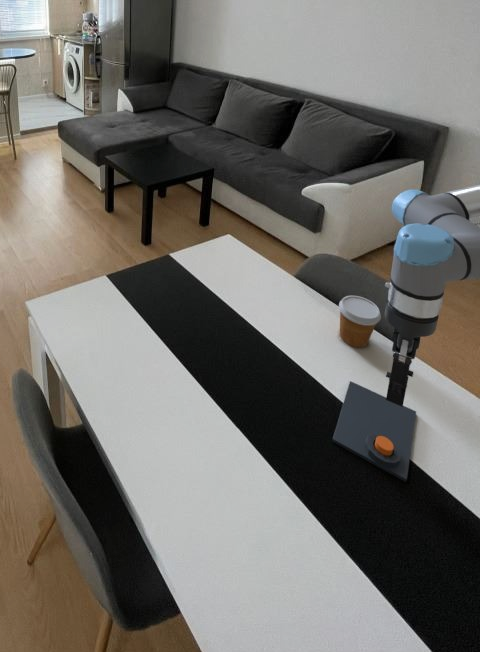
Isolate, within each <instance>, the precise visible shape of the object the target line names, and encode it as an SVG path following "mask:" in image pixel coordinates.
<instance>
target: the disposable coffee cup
mask: <svg viewBox="0 0 480 652" xmlns="http://www.w3.org/2000/svg"><path fill="white" fill-rule="evenodd" d="M338 308H339V311H340V312H339V337H340V339H341V340H342V341H343V342H344V343H345V344H347V345H349V346H351V347H354V348H364V347H366V346H367V345H368V343H369V340H370V338H371V337H372V335H373V332H374V330H375V328H376V326H377V324H378V323H379V322H380V321H381V319H382V314H381V312H380V309H379V307H378V305H377V304H376V303H374V302H373V301H372V300H370V299H368V298H366V297H363V296H359V295H346V296H344V297H343V298H341V300H340V301H339V303H338Z"/></svg>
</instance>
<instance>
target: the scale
mask: <svg viewBox="0 0 480 652" xmlns="http://www.w3.org/2000/svg"><path fill="white" fill-rule="evenodd" d="M345 393H346V394H345V396H344V399H343V403H342V406H341V410H340V413H339V417H338V420H337V423H336V426H335V430H334V433H333V437H332V440H331V441H332V443H334V444H336V445H338V446H340V447H342V448H343V449H345V450H347V451H349V452H350V453H352V454H353V455H356V456H357V457H359V458H361V459H363V460H365V461H366V462H368V463H370V464H372V465H374V466H376V467H377V468H379V469H381V470H383V471H384V472H386V473H389V474H390V475H392V476H394V477H396V478H398V479H399V480H400V481H403V482H405V483H407V480H408V477H409V476H408V475H409V468H410V460H411V453H412V447H413V439H414V431H415V424H416V417H417V411H416V410H414V409H411V408H410V407H407V406H405V405H403V407H401V406H399V405H397V404H394V403H392V402H390V401H387V400H386V397H387V396H383V395H381V394H379V393H377V392H375V391H373V390H371V389H369V388H367V387H365V386H362V385H360V384H358V383H356V382H353V381H352V380H350V381H349V383H348V387H347V390H346V392H345ZM378 436H383V437H386V438H388V439H389V440H390V441H391V442H392V443H393V446H394V449H393V452H392V454H391V455H390V456H384V455H382V454H381V453H379V452H378V451H377V450H376V448H375V441H376V438H377V437H378Z"/></svg>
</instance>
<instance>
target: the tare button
mask: <svg viewBox="0 0 480 652" xmlns="http://www.w3.org/2000/svg"><path fill="white" fill-rule="evenodd" d="M375 448H376V450H377V451H378V452H379V453H381V454H382V455H384V456H390V455H391V454H392V452H393V449H394V446H393V443H392V442H391V441H390V440H389V439H388V438H386V437H383V436H378V437H377V438H376V441H375Z"/></svg>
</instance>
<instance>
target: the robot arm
mask: <svg viewBox="0 0 480 652" xmlns="http://www.w3.org/2000/svg"><path fill="white" fill-rule="evenodd" d="M391 213H392V215H393V216H394V218H395V219H397V220H398V221H399V223H400V224H401V225H403V226H402V227H401V228H400V229H399V231H398V233H397V236H396V240H395V243H394V247H393V257H392V266H391V272H390V279H389V282H387V281H386V282H385V284H384V287H385V288H387V289H388V291H387V299H386V302H385V309H384V318H385V320H386V321H387V323H388V324H389V325H390V326H391V327H392V328H394V329H393V332H392V338H391V339H392V341H393V343H392V346H391V347H392V349H391V351H392V352H393V354H392V364H391V365H392V366H391V370H390V372H389V371H386V374H385V377H386V378H388V385H387V391H386V396H385V397H386V400H387V401H390V402H392V403H394V404H397V405H399V406H401V407H403V406H404V401H405V396H406V393H407V387H408V381H409V377H411V378H413V377H414V371H413V370H410V367H411V365H412V363H413V360H415V359H416V354H417V350H418V349H419V348H420V343H421V338H424V337H425V338H426V337H430V336H432V335H433V334H435V332H436V331H437V326H438V321H439V318H440V317H439V315H440V314H441V309H442V306H443V300H444V296H445V295H444V294H445V289H446V286H447V283H448V282H457V281H467V280H469V281H470V280H480V184H476V185H471V186H468V187H463V188H459V189H454V190H450V191H446V192H442V193H438V194H433V195H430V194H429V193H427V192H424V191H422V190H420V189H414V188H413V189H408V190H407V189H406V190H405V191H402V192H401V193H399V194H398V195H397V196H396V197H395V198H394V200H393V202H392V204H391Z"/></svg>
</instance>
